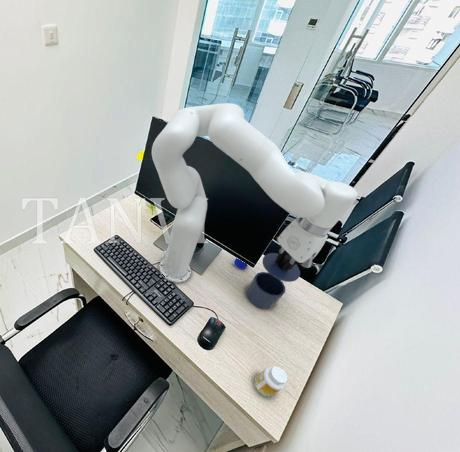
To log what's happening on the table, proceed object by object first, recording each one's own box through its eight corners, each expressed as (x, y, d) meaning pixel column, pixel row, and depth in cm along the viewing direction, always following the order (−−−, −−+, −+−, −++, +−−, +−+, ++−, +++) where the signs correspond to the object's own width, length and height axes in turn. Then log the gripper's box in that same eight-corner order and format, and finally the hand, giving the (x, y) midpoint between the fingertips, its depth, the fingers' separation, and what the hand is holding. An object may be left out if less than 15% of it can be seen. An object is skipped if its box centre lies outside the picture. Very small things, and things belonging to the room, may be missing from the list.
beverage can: (247, 271, 104) (262, 246, 94) (234, 268, 105) (248, 243, 95) (245, 261, 108) (259, 236, 98) (232, 259, 108) (246, 234, 98)
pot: (240, 288, 98) (248, 275, 92) (261, 282, 100) (271, 269, 94) (257, 312, 91) (268, 299, 85) (280, 305, 93) (291, 292, 87)
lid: (254, 258, 86) (261, 247, 83) (280, 252, 89) (288, 241, 86) (278, 286, 79) (287, 275, 75) (306, 278, 82) (316, 267, 78)
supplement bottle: (277, 394, 72) (295, 383, 65) (261, 399, 71) (277, 388, 64) (266, 373, 76) (281, 361, 69) (250, 377, 75) (264, 366, 68)
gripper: (282, 208, 75) (256, 249, 87) (329, 247, 64) (291, 288, 76) (302, 204, 77) (273, 245, 89) (350, 242, 66) (310, 283, 78)
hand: (282, 265), depth 83 cm, fingers closed on lid, 2 cm apart
